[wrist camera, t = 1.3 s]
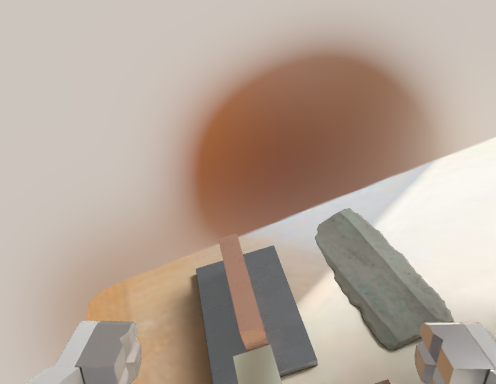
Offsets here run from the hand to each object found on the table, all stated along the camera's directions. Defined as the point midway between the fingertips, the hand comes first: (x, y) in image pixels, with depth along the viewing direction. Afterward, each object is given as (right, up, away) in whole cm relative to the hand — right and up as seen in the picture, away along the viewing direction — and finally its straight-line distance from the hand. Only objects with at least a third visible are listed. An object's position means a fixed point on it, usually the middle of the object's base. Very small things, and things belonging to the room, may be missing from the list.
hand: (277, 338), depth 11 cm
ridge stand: (-1, -12, +39) cm, 41 cm away
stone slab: (+16, -7, +41) cm, 45 cm away
